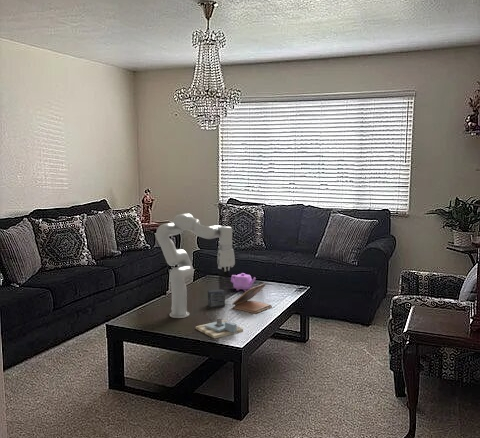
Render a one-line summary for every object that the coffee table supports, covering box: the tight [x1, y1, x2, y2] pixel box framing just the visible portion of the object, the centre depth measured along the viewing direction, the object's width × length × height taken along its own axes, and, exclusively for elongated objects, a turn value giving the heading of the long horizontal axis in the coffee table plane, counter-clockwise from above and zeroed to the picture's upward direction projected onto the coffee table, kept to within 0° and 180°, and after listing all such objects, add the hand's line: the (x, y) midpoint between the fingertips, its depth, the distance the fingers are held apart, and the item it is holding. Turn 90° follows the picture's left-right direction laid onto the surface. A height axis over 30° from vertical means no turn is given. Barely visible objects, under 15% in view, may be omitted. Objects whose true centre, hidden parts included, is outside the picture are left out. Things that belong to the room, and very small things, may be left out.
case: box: [232, 283, 273, 314], centre depth 344 cm, size 20×21×16 cm
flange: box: [205, 320, 238, 334], centre depth 298 cm, size 19×12×4 cm, turn 46°
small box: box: [207, 289, 226, 308], centre depth 349 cm, size 11×6×10 cm, turn 108°
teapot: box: [230, 272, 257, 292], centre depth 390 cm, size 20×12×13 cm, turn 69°
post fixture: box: [195, 317, 244, 339], centre depth 300 cm, size 20×20×7 cm
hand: (225, 277), depth 307 cm, fingers closed
